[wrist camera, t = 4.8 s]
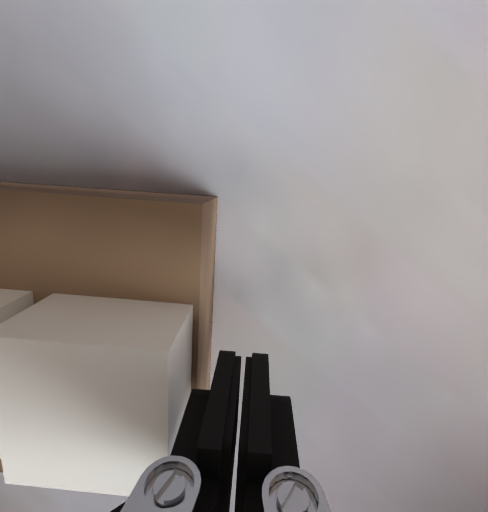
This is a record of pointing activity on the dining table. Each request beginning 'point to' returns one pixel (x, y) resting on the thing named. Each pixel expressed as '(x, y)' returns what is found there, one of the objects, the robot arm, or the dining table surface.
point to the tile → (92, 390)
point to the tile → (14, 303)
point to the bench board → (113, 250)
